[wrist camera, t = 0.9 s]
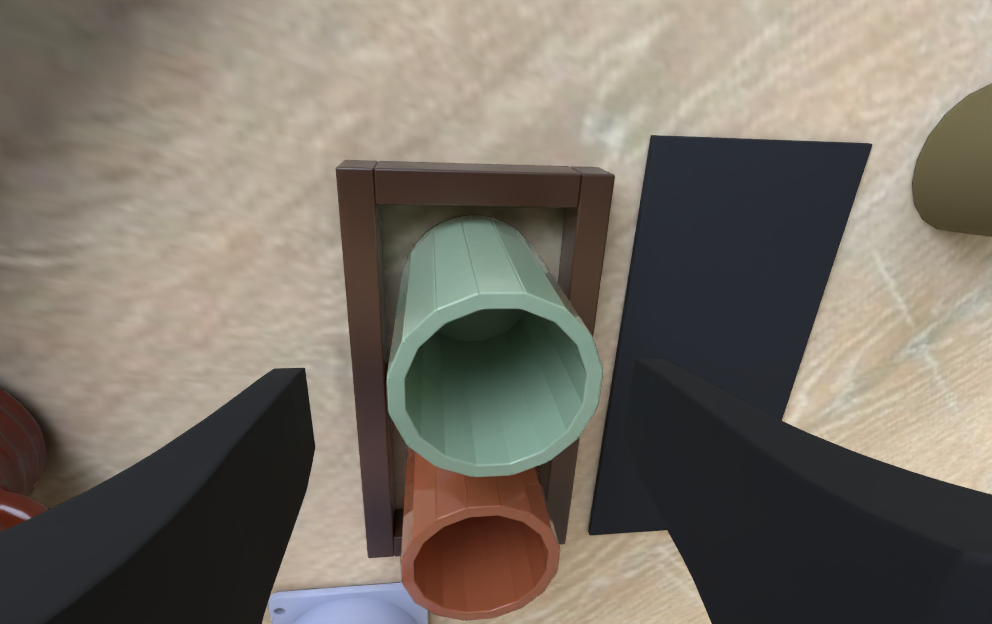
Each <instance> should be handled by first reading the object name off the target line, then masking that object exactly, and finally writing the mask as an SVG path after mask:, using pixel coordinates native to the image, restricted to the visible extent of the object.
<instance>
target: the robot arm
mask: <svg viewBox="0 0 992 624" xmlns="http://www.w3.org/2000/svg"><path fill="white" fill-rule="evenodd" d="M622 435H623V437H624V440H625V443H626V446H627V449H628V452H629V455H630V457H631V460H632V462H633V465H634V467H635V470H636V472H637V474H638V476H639V478H640V480H641V482H642V484H643V486H644V488H645V490H646V492H647V493H648V495H649V497H650V499H651V501H652V503H653V505H654V506H655V508H656V510H657V512H658V514H659V516H660V517H661V519H662V521H663V523H664V525H665V527H666V528H667V530H668V532H669V534H670V536H671V538H672V540H673V541H674V543H675V545H676V547H677V549H678V551H679V552H680V554H681V556H682V558H683V560H684V562H685V564H686V566H687V568H688V570H689V572H690V574H691V576H692V578H693V580H694V582H695V585H696V587H697V589H698V592H699V594H700V597H701V599H702V601H703V604H704V606H705V608H706V611H707V613H708V616H709V618H710V620H711V623H712V624H992V495H991V494H987V493H983V492H980V491H976V490H972V489H969V488H965V487H961V486H958V485H954V484H950V483H947V482H944V481H940V480H937V479H934V478H930V477H927V476H924V475H920V474H917V473H914V472H911V471H908V470H905V469H902V468H899V467H896V466H893V465H890V464H887V463H884V462H882V461H879V460H876V459H873V458H870V457H867V456H864V455H862V454H859V453H856V452H854V451H851V450H848V449H846V448H843V447H841V446H839V445H836V444H834V443H831V442H829V441H826V440H824V439H821V438H819V437H817V436H814V435H812V434H809V433H807V432H805V431H803V430H800V429H798V428H796V427H794V426H792V425H789V424H787V423H785V422H783V421H781V420H779V419H777V418H775V417H773V416H771V415H769V414H767V413H765V412H763V411H761V410H759V409H757V408H755V407H753V406H751V405H749V404H747V403H745V402H743V401H741V400H739V399H738V398H736V397H734V396H732V395H730V394H728V393H726V392H725V391H723V390H721V389H719V388H717V387H715V386H714V385H712V384H710V383H708V382H706V381H704V380H703V379H701V378H699V377H697V376H695V375H693V374H691V373H690V372H688V371H686V370H684V369H682V368H680V367H678V366H676V365H674V364H672V363H670V362H667V361H665V360H662V359H635V362H634V368H633V374H632V379H631V385H630V391H629V397H628V402H627V408H626V414H625V420H624V426H623V431H622ZM314 451H315V442H314V434H313V426H312V419H311V411H310V403H309V396H308V388H307V380H306V373H305V368H281V369H273V370H272V371H270V372H268V373H267V374H265V375H264V376H263V377H261V378H260V379H258V380H257V381H256V382H254V383H253V384H252V385H250V386H249V387H248V388H246V389H245V390H244V391H242V392H241V393H240V394H238V395H237V396H236V397H234V398H233V399H232V400H230V401H229V402H228V403H226V404H225V405H223V406H222V407H221V408H219V409H218V410H217V411H215V412H214V413H212V414H211V415H210V416H208V417H207V418H206V419H204V420H203V421H201V422H200V423H198V424H197V425H195V426H194V427H192V428H191V429H189V430H188V431H186V432H185V433H183V434H182V435H180V436H179V437H177V438H176V439H174V440H173V441H171V442H170V443H168V444H167V445H165V446H164V447H162V448H161V449H159V450H158V451H156V452H155V453H153V454H151V455H150V456H148V457H146V458H145V459H143V460H141V461H140V462H138V463H136V464H135V465H133V466H131V467H130V468H128V469H126V470H124V471H122V472H121V473H119V474H117V475H115V476H113V477H112V478H110V479H108V480H106V481H104V482H103V483H101V484H99V485H97V486H95V487H93V488H91V489H90V490H88V491H86V492H84V493H82V494H80V495H78V496H75V497H73V498H71V499H69V500H67V501H65V502H63V503H61V504H59V505H57V506H55V507H53V508H51V509H49V510H47V511H45V512H43V513H41V514H39V515H36V516H34V517H32V518H30V519H28V520H26V521H24V522H22V523H20V524H18V525H16V526H13V527H11V528H9V529H7V530H4V531H2V532H0V624H262V620H263V616H264V613H265V610H266V607H267V603H268V607H269V612H270V616H271V621H272V624H428V610H426V609H425V608H423V607H421V606H420V605H418V604H416V603H415V602H414V601H413V599H412V598H411V596H410V595H409V593H408V592H407V590H406V589H405V587H404V586H403V584H402V582H399V583H386V584H373V585H360V586H347V587H334V588H322V589H309V590H296V591H283V592H276V593H274V594H272V595H271V596H270V594H271V591H272V588H273V585H274V582H275V579H276V576H277V574H278V571H279V568H280V565H281V562H282V559H283V556H284V554H285V551H286V548H287V545H288V542H289V539H290V537H291V534H292V531H293V528H294V525H295V522H296V520H297V517H298V514H299V511H300V508H301V505H302V502H303V499H304V496H305V493H306V490H307V486H308V481H309V476H310V472H311V467H312V462H313V456H314ZM269 597H270V599H269ZM268 600H269V602H268Z"/></svg>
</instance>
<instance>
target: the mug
mask: <svg viewBox="0 0 992 624" xmlns="http://www.w3.org/2000/svg"><path fill="white" fill-rule="evenodd" d="M45 462H46V445H45V440H44V436H43V433H42V430H41V428H40V426H39V424H38V422H37V421H36V420H35V418H34V417H33V416H32V415H31V414H30V412H29V411H28V410H27V409H26V408H25V407H24V406H23V405H22V404H21V403H20V402H19V401H18V400H17V399H15V398H14V397H13V396H12V395H10V394H9V393H8V392H6V391H5V390H3V389H2V388H0V532H2V531H4V530H7V529H9V528H11V527H13V526H16V525H18V524H20V523H22V522H24V521H26V520H28V519H30V518H32V517H34V516H36V515H39V514H41V513H43V512H45V511H47V510H49V509H50V508H48V507H47V506H45V505H44V504H42V503H41V502H39V501H38V500H36V499H34V498H32V497H30V495H31V493H32V491H33V489H34V486H35V484H36V483H37V482H38V480H39V479H40V477H41V475H42V473H43V470H44V466H45Z"/></svg>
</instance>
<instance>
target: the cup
mask: <svg viewBox="0 0 992 624" xmlns="http://www.w3.org/2000/svg"><path fill="white" fill-rule="evenodd" d="M602 377H603V368H602V364H601V361H600V358H599V355H598V352H597V349H596V345H595V342H594V339H593V337H592V335H591V333H590V332H589V330H588V329H587V327H586V326H585V324H584V323H583V321H582V320H581V318H580V317H579V315H578V314H577V312H576V311H575V309H574V308H573V306H572V305H571V303H570V301H569V300H568V298H567V297H566V295H565V294H564V292H563V291H562V289H561V288H560V286H559V285H558V283H557V282H556V280H555V279H554V277H553V276H552V274H551V273H550V271H549V269H548V268H547V266H546V265H545V263H544V262H543V260H542V259H541V257H540V256H539V254H538V253H537V251H536V250H535V248H534V247H533V246H532V245H531V244H530V243H529V242H528V240H527V239H526V238H525V237H524V236H523V235H522V234H521V233H520V232H519V231H518V230H516V229H515V228H513V227H512V226H511V225H509V224H507V223H505V222H503V221H500V220H497V219H495V218H491V217H486V216H476V215H472V216H462V217H456V218H453V219H450V220H447V221H444V222H442V223H440V224H438V225H436V226H435V227H433V228H432V229H430V230H429V231H428V232H427V233H425V234H424V235H423V236H422V237H421V238H420V239H419V240H418V242H417V243H416V244H415V246H414V247H413V248H412V250H411V252H410V254H409V256H408V258H407V260H406V263H405V266H404V270H403V273H402V276H401V283H400V290H399V296H398V303H397V310H396V317H395V324H394V331H393V337H392V344H391V351H390V358H389V365H388V372H387V396H388V412H389V415H390V417H391V419H392V421H393V422H394V424H395V426H396V428H397V429H398V431H399V433H400V435H401V436H402V438H403V440H404V442H405V443H406V444H407V445H408V447H409V448H411V449H412V450H414V451H415V452H416V453H418V454H419V455H420V456H422V457H423V458H425V459H426V460H427V461H429V462H430V463H431V464H433V465H434V466H437V467H438V468H441V469H445V470H448V471H452V472H456V473H459V474H463V475H466V476H470V477H473V476H474V477H491V476H510V475H515V474H517V473H520V472H523V471H525V470H528V469H531V468H533V467H536V466H539V465H542V464H544V463H547V462H548V461H550V460H552V459H553V458H554V457H556V456H557V455H558V454H559V453H561V452H562V451H563V450H564V449H566V448H567V447H568V446H569V445H571V444H572V443H573V442H574V441H576V440H577V439H578V437H580V435H581V434H582V432H583V430H584V429H585V427H586V426H587V424H588V422H589V421H590V419H591V417H592V416H593V414H594V413H595V411H596V409H597V406H598V404H599V397H600V390H601V383H602Z"/></svg>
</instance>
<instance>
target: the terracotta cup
mask: <svg viewBox="0 0 992 624" xmlns="http://www.w3.org/2000/svg"><path fill="white" fill-rule="evenodd" d="M559 556H560V546H559V543H558V539H557V536H556V532H555V529H554V525H553V522H552V518H551V515H550V511H549V507H548V504H547V500H546V497H545V493H544V490H543V486H542V483H541V479H540V476H539V472H538V469H537V466H536V467H533V468H531V469H528V470H525V471H523V472H520V473H517V474H515V475H510V476H491V477H474V476H473V477H470V476H466V475H463V474H459V473H456V472H452V471H448V470H445V469H441V468H438V467H437V466H434V465H433V464H431V463H430V462H429V461H427V460H426V459H425V458H423V457H422V456H420V455H419V454H418V453H416V452H415V451H414V450H412V449H411V448H409V447H408V449H407V464H406V481H405V497H404V514H403V531H402V547H401V579H402V584H403V586H404V587H405V589H406V590H407V592H408V593H409V595H410V596H411V598H412V599H413V601H414V602H415V603H416V604H418V605H420V606H421V607H423V608H425V609H426V610H428V611H430V612H432V613H433V614H435V615H438V616H442V617H448V618H453V619H458V620H466V621H467V620H479V619H490V618H496V617H499V616H501V615H504V614H507V613H510V612H512V611H515V610H518V609H520V608H522V607H524V606H525V605H527V604H528V603H529V602H531V601H532V600H534V599H535V598H536V597H538V596H539V595H540V594H542V593H543V592H544V591H545V589H546V588H547V586H548V585H549V583H550V582H551V580H552V579H553V578H554V576H555V575H556V573H557V571H558V563H559Z"/></svg>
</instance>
